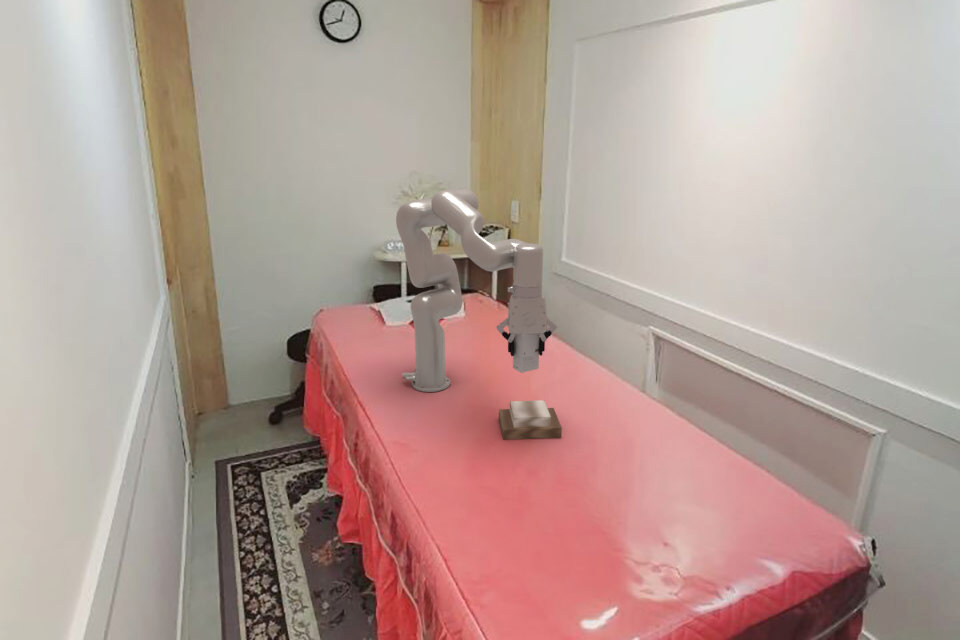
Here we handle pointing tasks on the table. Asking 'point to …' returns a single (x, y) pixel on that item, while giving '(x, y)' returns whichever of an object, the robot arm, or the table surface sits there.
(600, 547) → the table surface
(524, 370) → the skincare box
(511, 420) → the block stack
